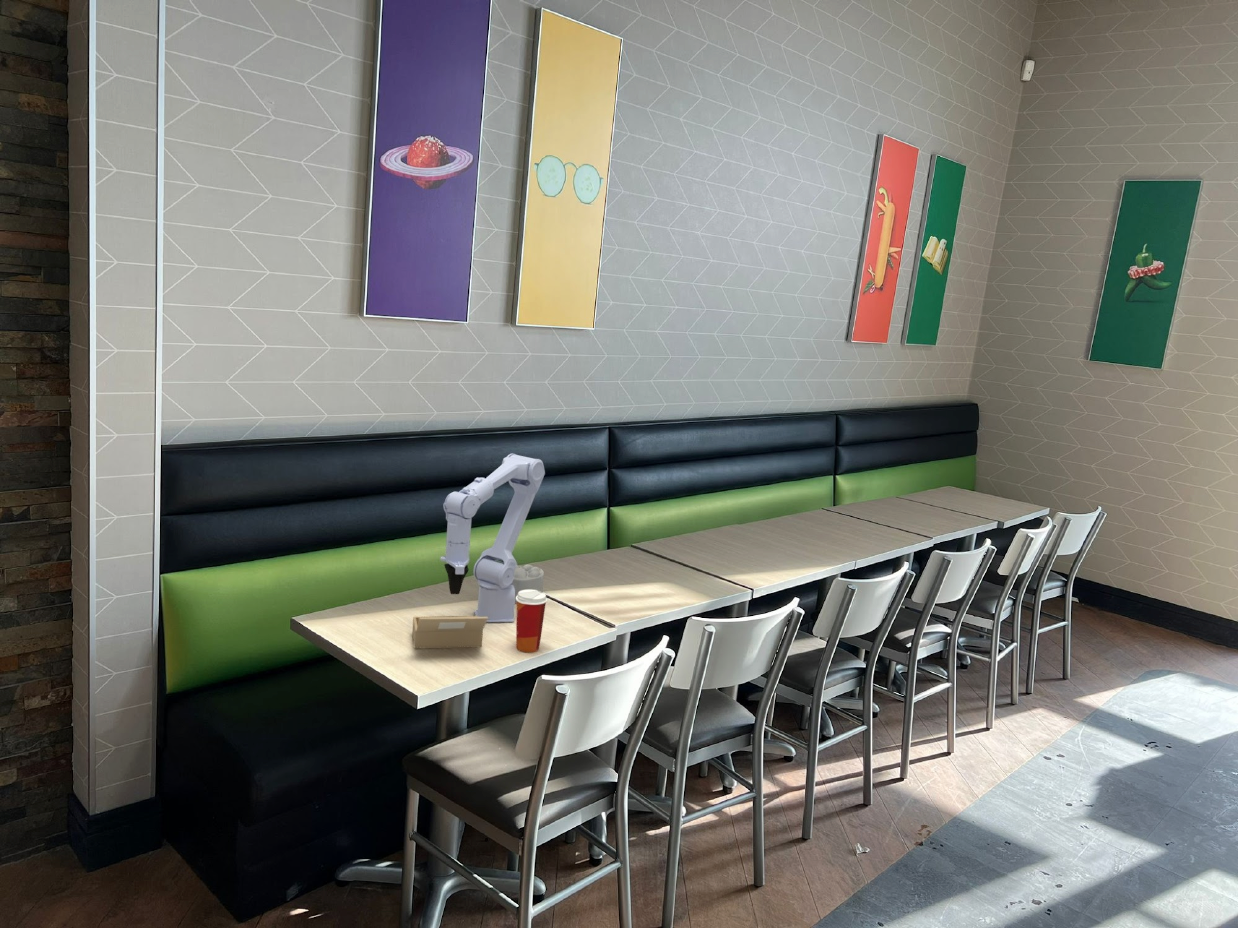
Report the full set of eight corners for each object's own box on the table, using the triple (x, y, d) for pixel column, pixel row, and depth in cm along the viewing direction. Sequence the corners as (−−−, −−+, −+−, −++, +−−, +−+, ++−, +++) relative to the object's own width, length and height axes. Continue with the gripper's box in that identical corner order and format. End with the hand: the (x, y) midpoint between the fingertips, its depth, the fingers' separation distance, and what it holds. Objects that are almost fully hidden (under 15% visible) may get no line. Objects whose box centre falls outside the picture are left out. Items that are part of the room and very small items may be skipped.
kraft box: (477, 632, 231) (478, 615, 230) (481, 646, 222) (482, 629, 222) (412, 633, 226) (413, 616, 225) (414, 648, 218) (415, 630, 217)
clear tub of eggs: (493, 596, 258) (495, 567, 257) (524, 586, 269) (526, 558, 267) (521, 606, 252) (523, 576, 251) (551, 596, 263) (553, 567, 261)
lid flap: (487, 616, 214) (487, 618, 214) (482, 629, 221) (482, 631, 221) (419, 617, 209) (419, 619, 209) (416, 630, 217) (416, 632, 217)
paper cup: (527, 639, 229) (531, 586, 227) (549, 649, 225) (554, 595, 222) (505, 647, 223) (508, 592, 221) (527, 657, 219) (531, 601, 216)
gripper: (439, 532, 231) (435, 583, 233) (444, 548, 217) (440, 603, 219) (467, 532, 233) (463, 583, 235) (474, 549, 219) (470, 603, 221)
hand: (454, 593), depth 227 cm, fingers closed
